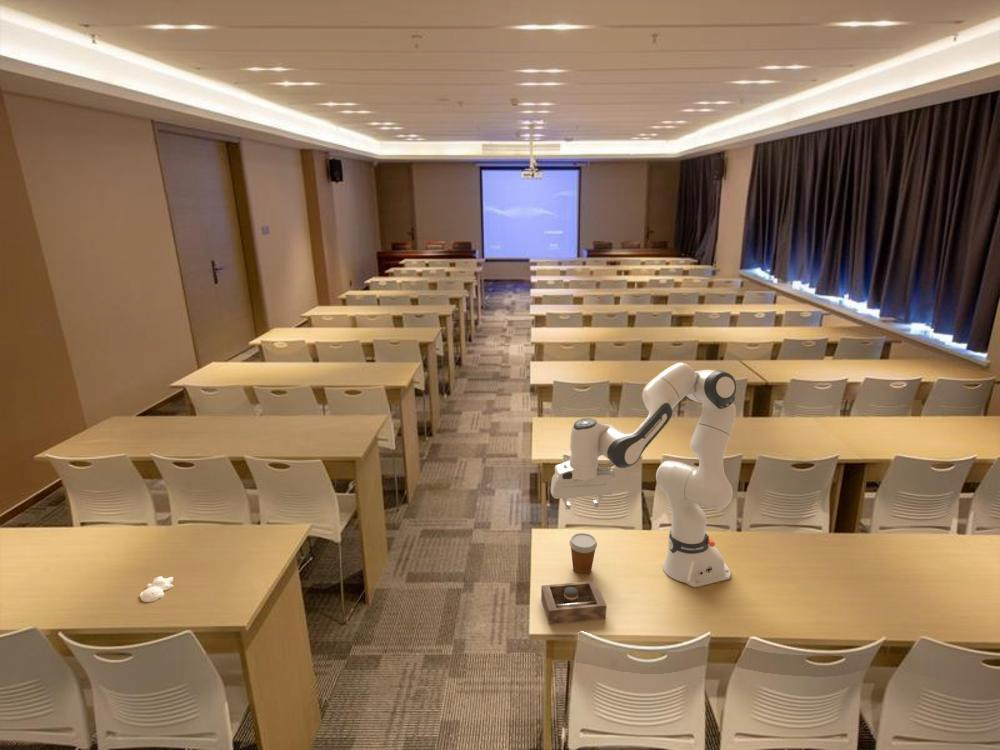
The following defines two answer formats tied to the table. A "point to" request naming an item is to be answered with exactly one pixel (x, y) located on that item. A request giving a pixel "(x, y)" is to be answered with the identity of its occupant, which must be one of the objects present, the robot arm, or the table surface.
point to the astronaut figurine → (156, 589)
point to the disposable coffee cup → (582, 552)
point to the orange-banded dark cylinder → (570, 595)
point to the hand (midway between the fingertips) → (581, 507)
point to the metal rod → (575, 604)
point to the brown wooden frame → (573, 612)
